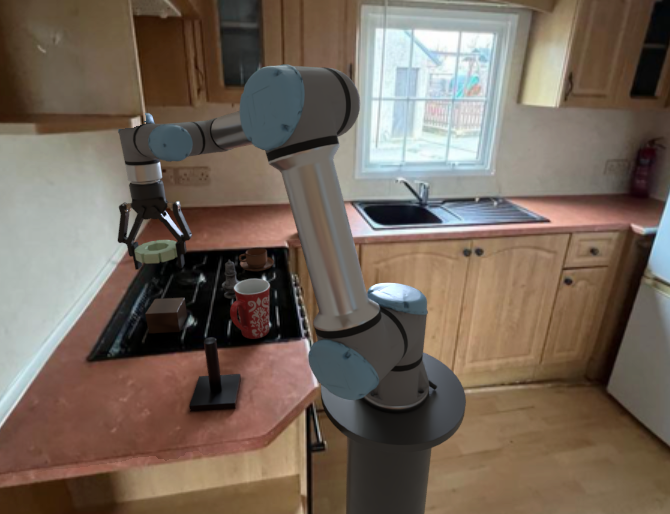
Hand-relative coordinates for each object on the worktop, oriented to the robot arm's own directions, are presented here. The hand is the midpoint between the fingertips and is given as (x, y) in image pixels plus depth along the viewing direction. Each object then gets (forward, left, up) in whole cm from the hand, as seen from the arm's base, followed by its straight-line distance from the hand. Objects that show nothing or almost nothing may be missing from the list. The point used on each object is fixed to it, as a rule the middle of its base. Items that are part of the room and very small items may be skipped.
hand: (160, 266), depth 105 cm
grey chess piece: (-14, -17, -18) cm, 29 cm away
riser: (+1, -1, -18) cm, 18 cm away
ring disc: (0, 0, +3) cm, 3 cm away
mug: (-22, +6, -18) cm, 29 cm away
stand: (-17, +28, -18) cm, 37 cm away
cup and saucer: (-20, -37, -18) cm, 46 cm away
